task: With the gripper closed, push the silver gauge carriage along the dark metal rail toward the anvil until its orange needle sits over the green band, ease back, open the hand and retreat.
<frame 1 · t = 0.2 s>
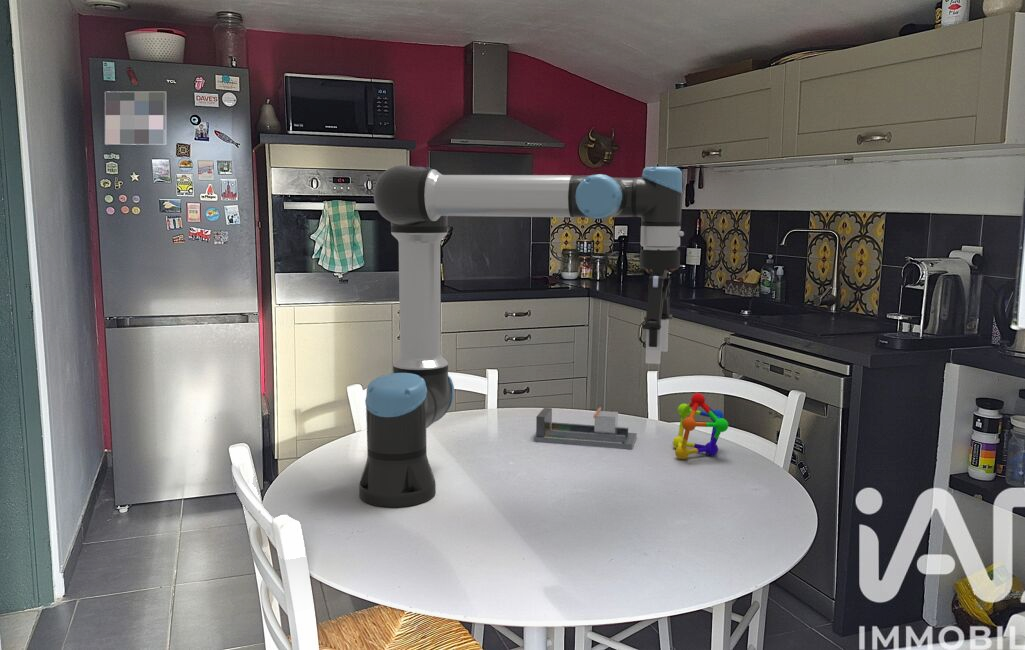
hand: (656, 357, 160), 28 cm above the table, fingers open, 13 cm apart
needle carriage: (606, 423, 200), point 4 cm above the table, slide at 0.0 cm
educational toy: (698, 454, 191), on the table
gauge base: (585, 439, 202), on the table
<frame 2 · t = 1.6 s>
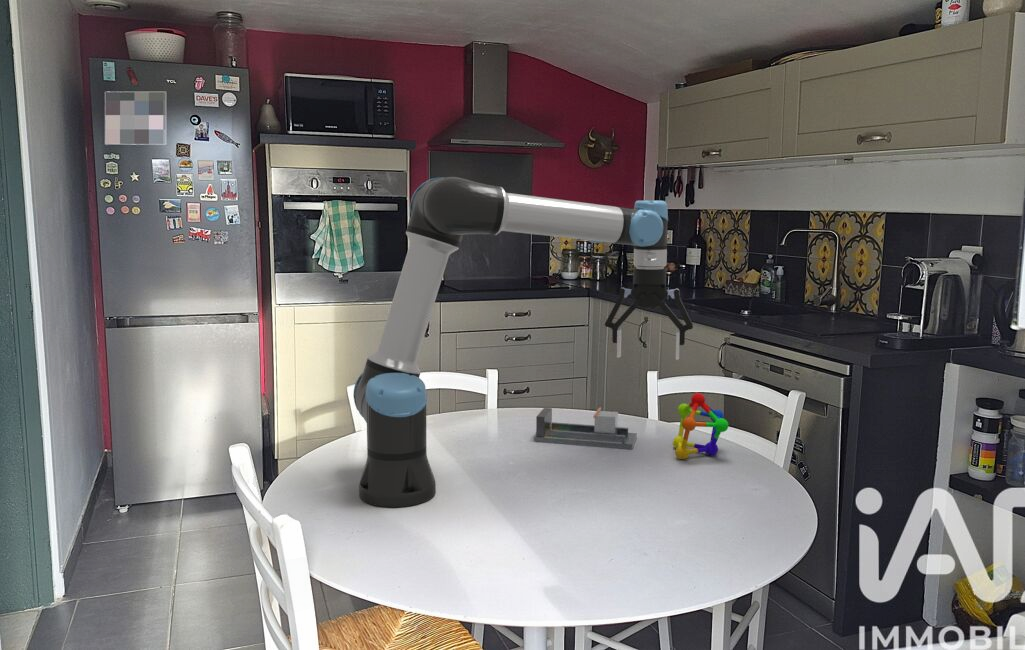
hand: (647, 357, 193), 22 cm above the table, fingers open, 13 cm apart
nothing on the table moved.
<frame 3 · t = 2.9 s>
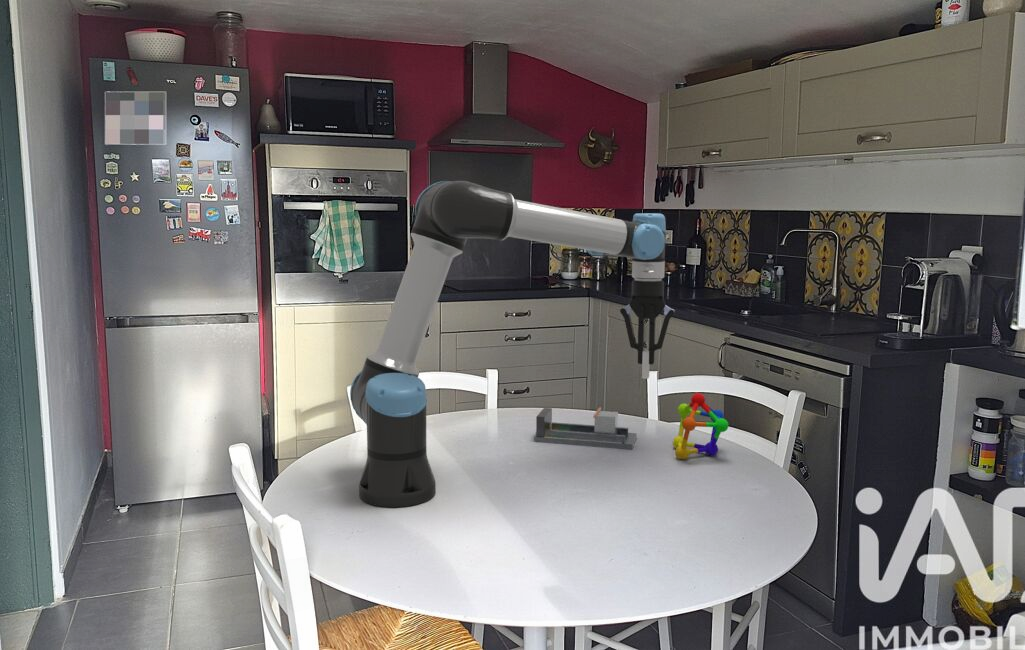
hand: (645, 377, 196), 17 cm above the table, fingers closed
nothing on the table moved.
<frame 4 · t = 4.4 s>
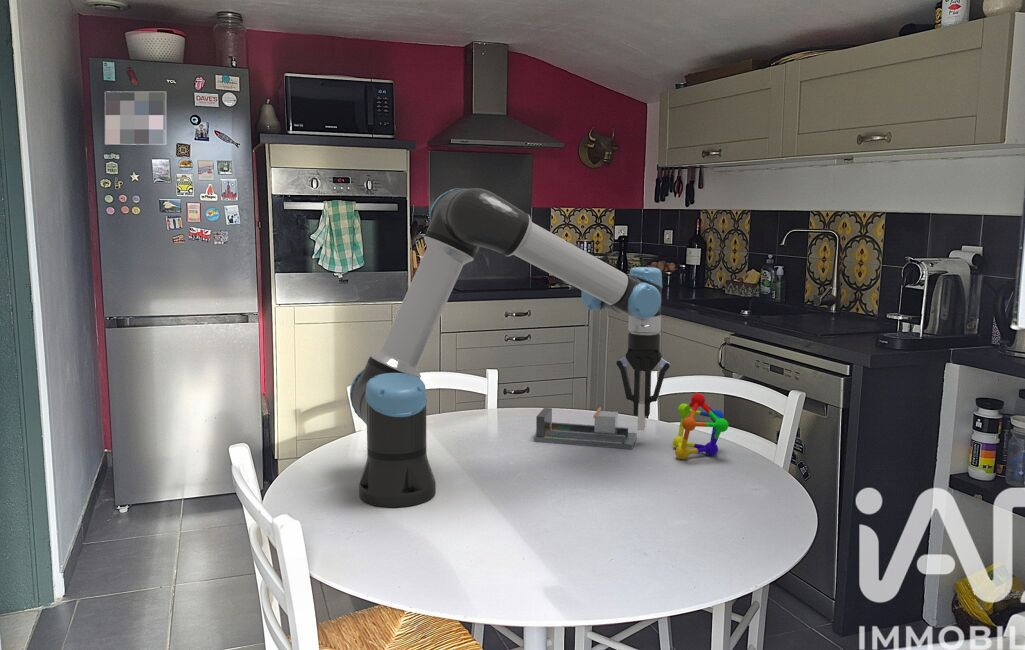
hand: (641, 428, 198), 4 cm above the table, fingers closed
nothing on the table moved.
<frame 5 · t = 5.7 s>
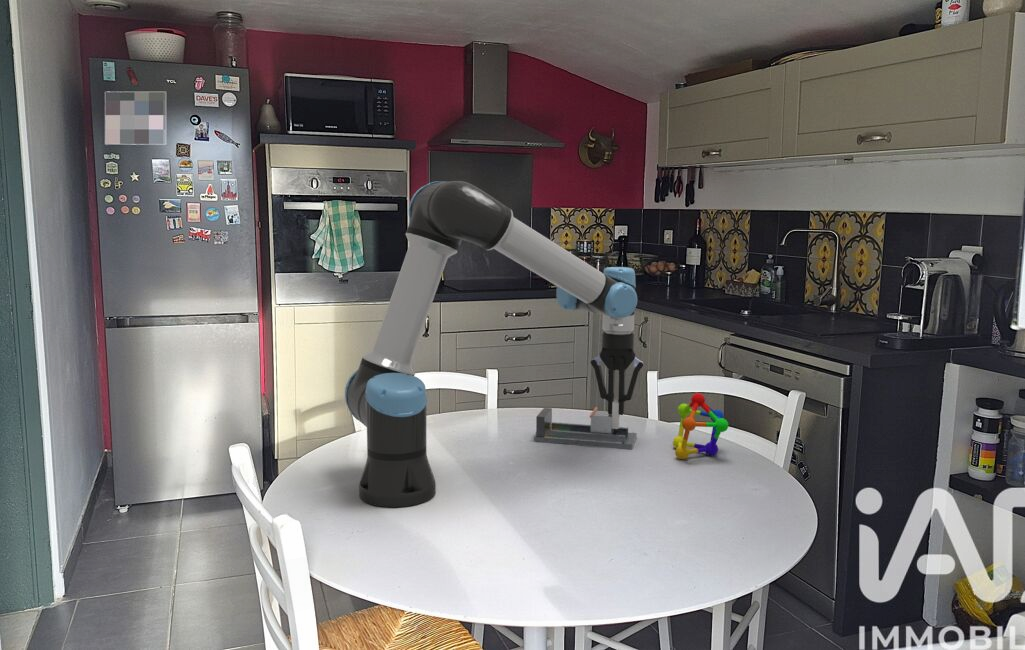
hand: (615, 427, 199), 4 cm above the table, fingers closed
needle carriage: (602, 423, 200), point 4 cm above the table, slide at 0.9 cm, touching gripper
everything else where it was.
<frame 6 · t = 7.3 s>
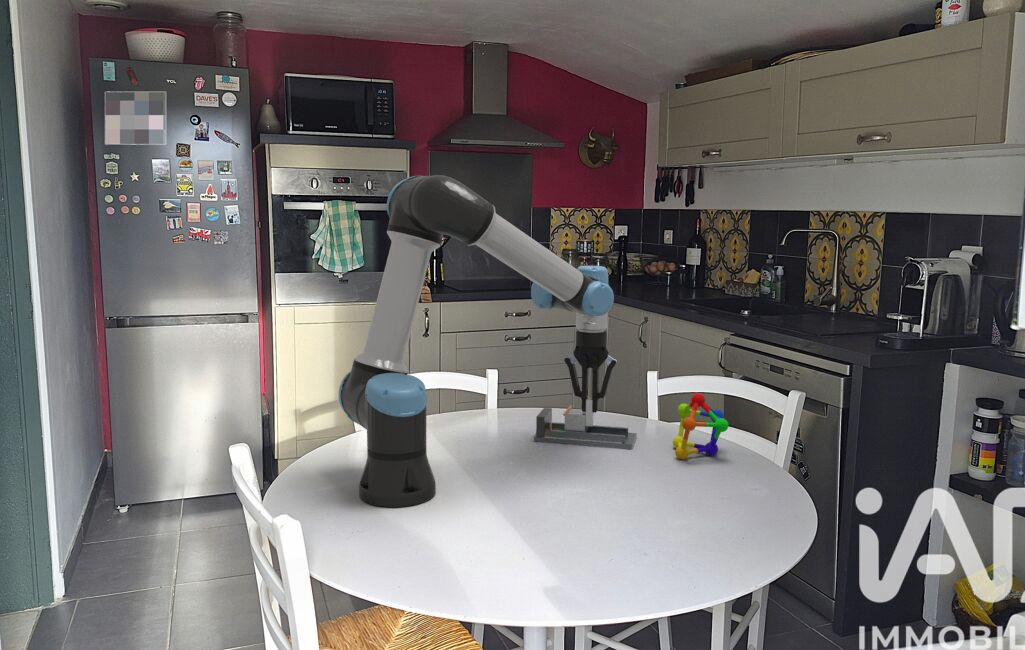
hand: (589, 424, 201), 4 cm above the table, fingers closed
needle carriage: (576, 421, 202), point 4 cm above the table, slide at 7.4 cm, touching gripper
everything else where it was.
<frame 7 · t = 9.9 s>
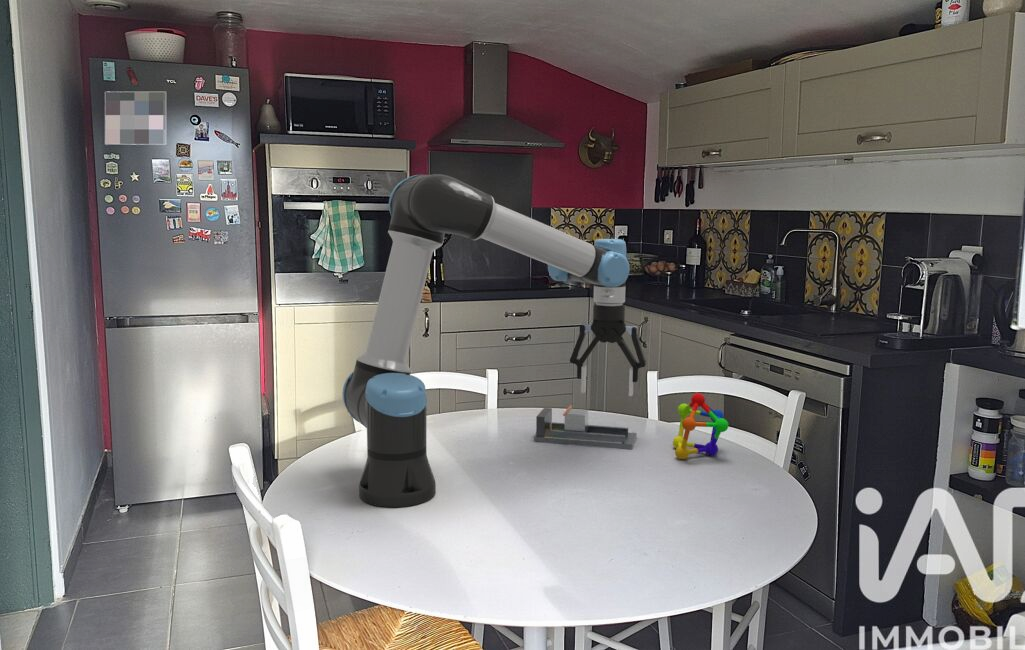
hand: (607, 393, 199), 12 cm above the table, fingers open, 11 cm apart
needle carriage: (576, 421, 202), point 4 cm above the table, slide at 7.4 cm
everything else where it was.
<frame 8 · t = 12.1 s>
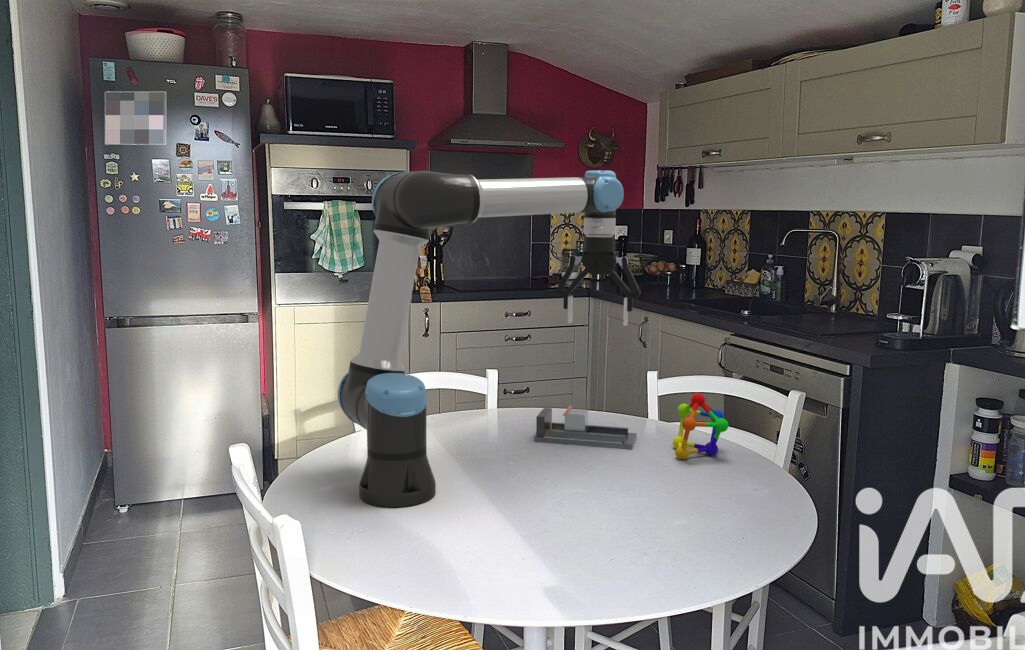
hand: (597, 323, 199), 29 cm above the table, fingers open, 13 cm apart
nothing on the table moved.
at the end: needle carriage slide at 7.4 cm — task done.
